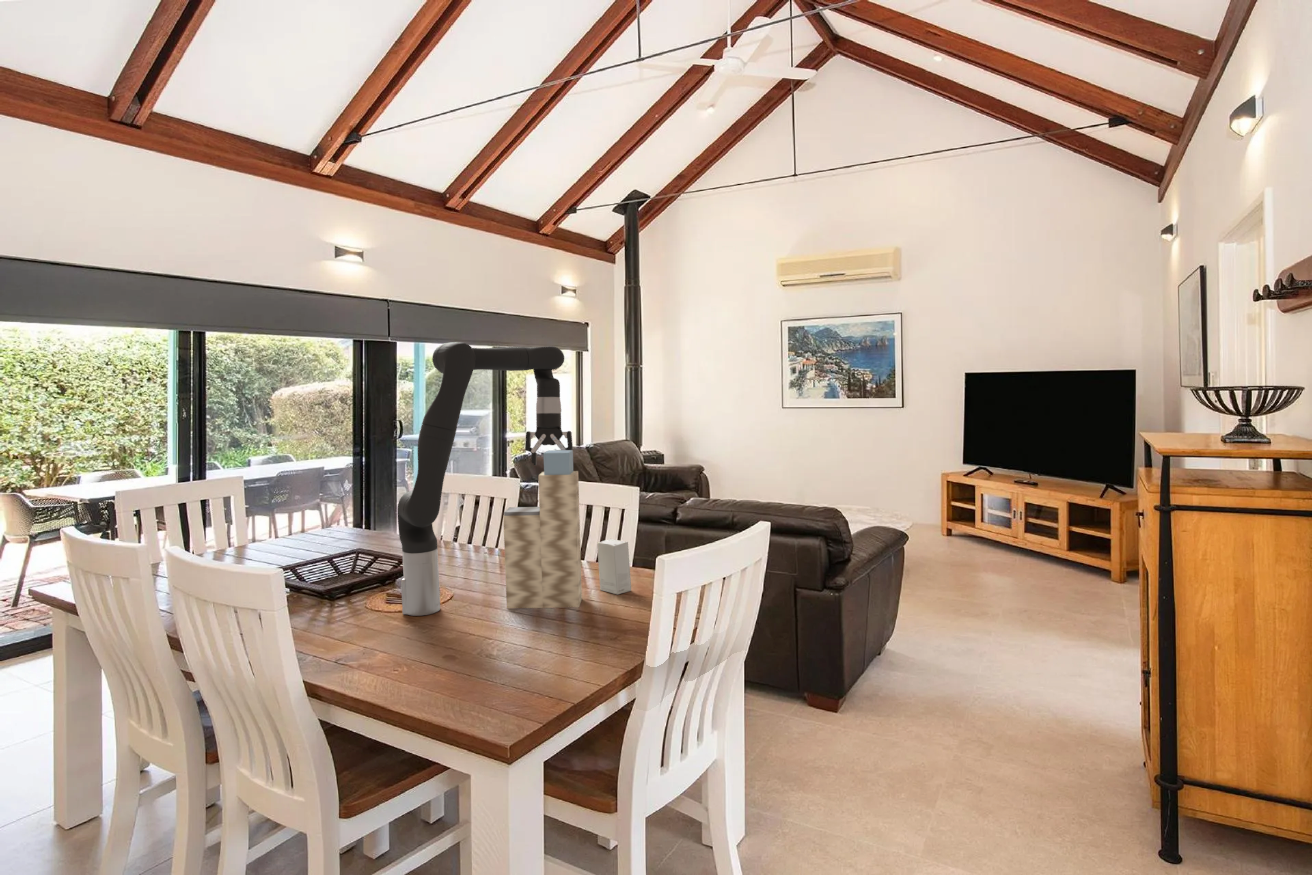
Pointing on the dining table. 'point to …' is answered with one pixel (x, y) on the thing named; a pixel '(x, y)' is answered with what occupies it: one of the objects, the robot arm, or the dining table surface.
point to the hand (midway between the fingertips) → (549, 465)
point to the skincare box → (614, 566)
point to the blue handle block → (558, 462)
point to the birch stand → (545, 547)
